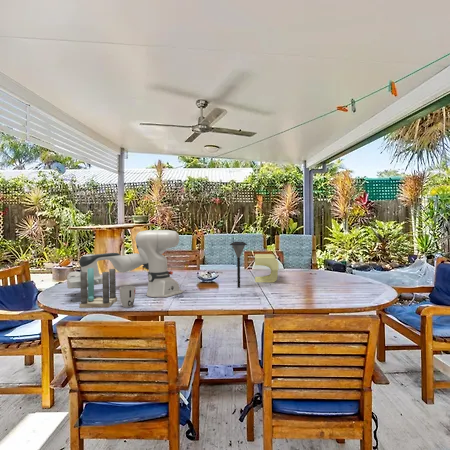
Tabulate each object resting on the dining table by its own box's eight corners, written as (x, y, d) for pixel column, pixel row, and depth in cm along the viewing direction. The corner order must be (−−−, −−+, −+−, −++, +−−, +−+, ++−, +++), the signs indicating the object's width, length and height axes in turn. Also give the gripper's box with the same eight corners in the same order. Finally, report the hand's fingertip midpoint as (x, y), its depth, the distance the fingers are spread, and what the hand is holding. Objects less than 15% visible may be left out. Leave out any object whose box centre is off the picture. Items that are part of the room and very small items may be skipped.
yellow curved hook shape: (278, 284, 237) (278, 258, 237) (255, 284, 238) (254, 258, 238) (275, 277, 267) (275, 254, 267) (255, 277, 268) (254, 254, 268)
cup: (129, 308, 177) (129, 289, 177) (116, 307, 180) (116, 288, 180) (138, 305, 184) (138, 286, 184) (126, 303, 187) (126, 285, 187)
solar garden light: (245, 289, 221) (244, 242, 220) (227, 288, 225) (226, 242, 224) (250, 286, 232) (249, 241, 232) (232, 285, 236) (232, 241, 236)
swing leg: (93, 300, 185) (93, 270, 184) (87, 301, 183) (86, 271, 183) (94, 296, 195) (93, 267, 195) (88, 296, 194) (87, 268, 194)
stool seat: (89, 300, 196) (88, 268, 195) (117, 300, 196) (116, 268, 195) (78, 307, 180) (77, 273, 180) (108, 307, 180) (107, 272, 180)
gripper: (99, 283, 210) (110, 286, 200) (64, 288, 196) (74, 292, 186) (99, 273, 210) (110, 275, 200) (64, 277, 196) (74, 280, 186)
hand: (92, 283), depth 193 cm, fingers open, 5 cm apart
